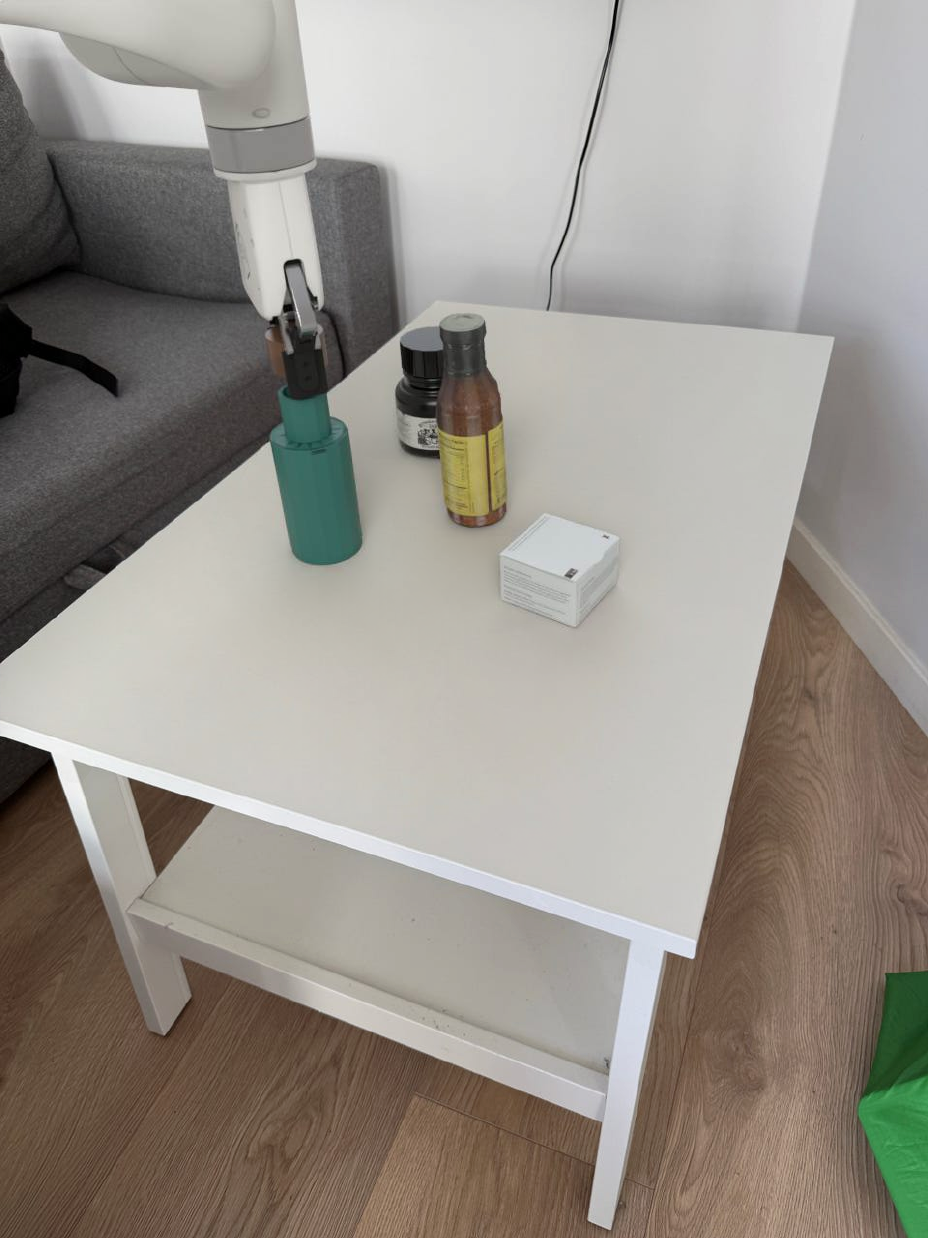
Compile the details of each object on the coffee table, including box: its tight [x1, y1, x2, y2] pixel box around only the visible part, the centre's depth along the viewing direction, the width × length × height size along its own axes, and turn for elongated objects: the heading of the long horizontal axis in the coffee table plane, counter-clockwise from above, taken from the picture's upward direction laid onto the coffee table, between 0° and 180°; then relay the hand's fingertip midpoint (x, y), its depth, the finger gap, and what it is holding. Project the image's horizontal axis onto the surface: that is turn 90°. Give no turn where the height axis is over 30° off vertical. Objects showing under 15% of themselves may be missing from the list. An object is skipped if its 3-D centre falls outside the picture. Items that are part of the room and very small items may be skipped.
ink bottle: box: [394, 325, 444, 458], centre depth 100 cm, size 10×9×12 cm
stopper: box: [264, 321, 329, 399], centre depth 77 cm, size 5×5×6 cm
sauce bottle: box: [436, 312, 508, 528], centre depth 85 cm, size 7×6×20 cm
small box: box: [498, 512, 622, 628], centre depth 79 cm, size 8×8×5 cm
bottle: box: [268, 383, 363, 566], centre depth 83 cm, size 7×7×16 cm
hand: (300, 379), depth 78 cm, fingers closed on stopper, 4 cm apart
